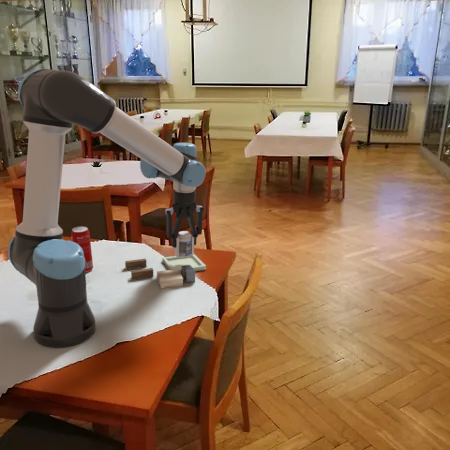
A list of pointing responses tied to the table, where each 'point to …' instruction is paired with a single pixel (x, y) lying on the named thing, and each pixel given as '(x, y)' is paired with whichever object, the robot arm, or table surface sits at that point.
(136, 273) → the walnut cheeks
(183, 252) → the pill bottle
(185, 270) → the bench dog
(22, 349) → the table surface
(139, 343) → the table surface
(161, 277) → the beige grooved block
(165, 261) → the tray
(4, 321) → the table surface
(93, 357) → the table surface
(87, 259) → the beverage can
